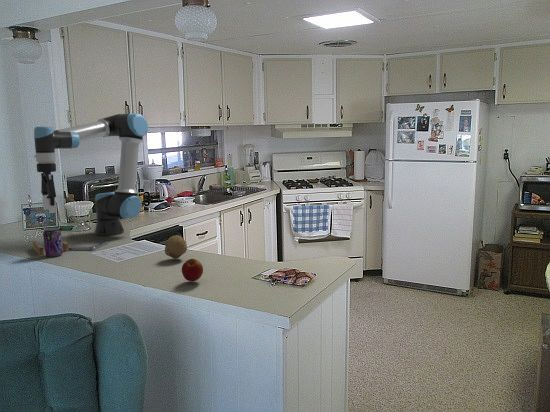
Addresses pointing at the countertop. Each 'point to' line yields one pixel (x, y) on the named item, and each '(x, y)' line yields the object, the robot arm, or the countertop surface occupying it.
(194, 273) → the apple
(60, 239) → the beverage can
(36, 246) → the guide channel
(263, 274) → the countertop surface
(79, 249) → the hinge
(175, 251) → the natural sponge
